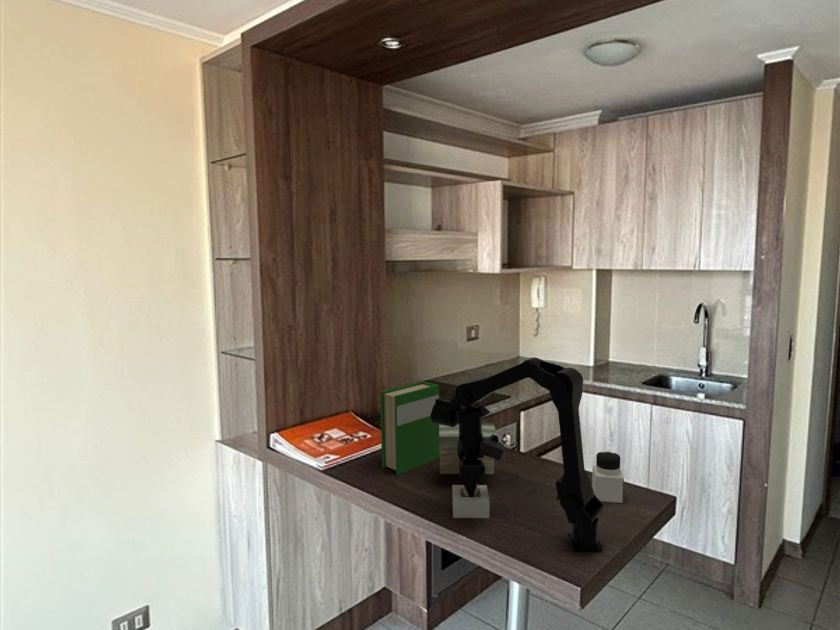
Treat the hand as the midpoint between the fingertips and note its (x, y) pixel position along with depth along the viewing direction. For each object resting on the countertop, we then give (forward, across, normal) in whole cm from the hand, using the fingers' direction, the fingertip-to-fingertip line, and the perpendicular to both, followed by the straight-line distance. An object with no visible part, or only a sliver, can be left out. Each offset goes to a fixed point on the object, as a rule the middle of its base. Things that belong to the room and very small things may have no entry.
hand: (470, 489), depth 141 cm
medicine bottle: (+6, +8, -37) cm, 38 cm away
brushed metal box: (+6, +18, 0) cm, 19 cm away
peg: (+6, 0, 0) cm, 6 cm away
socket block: (+6, 0, 0) cm, 6 cm away
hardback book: (+6, +30, +17) cm, 35 cm away
